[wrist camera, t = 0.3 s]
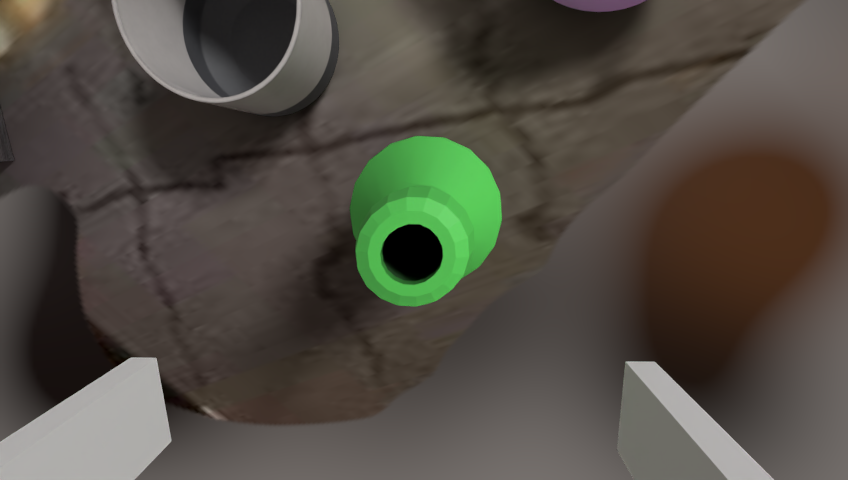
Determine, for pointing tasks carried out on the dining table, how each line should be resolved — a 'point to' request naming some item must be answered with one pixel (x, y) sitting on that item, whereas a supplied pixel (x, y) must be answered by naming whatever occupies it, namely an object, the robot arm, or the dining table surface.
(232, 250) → the dining table surface
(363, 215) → the bottle
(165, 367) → the dining table surface
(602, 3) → the teapot
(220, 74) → the planter
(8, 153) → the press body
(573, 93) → the dining table surface
